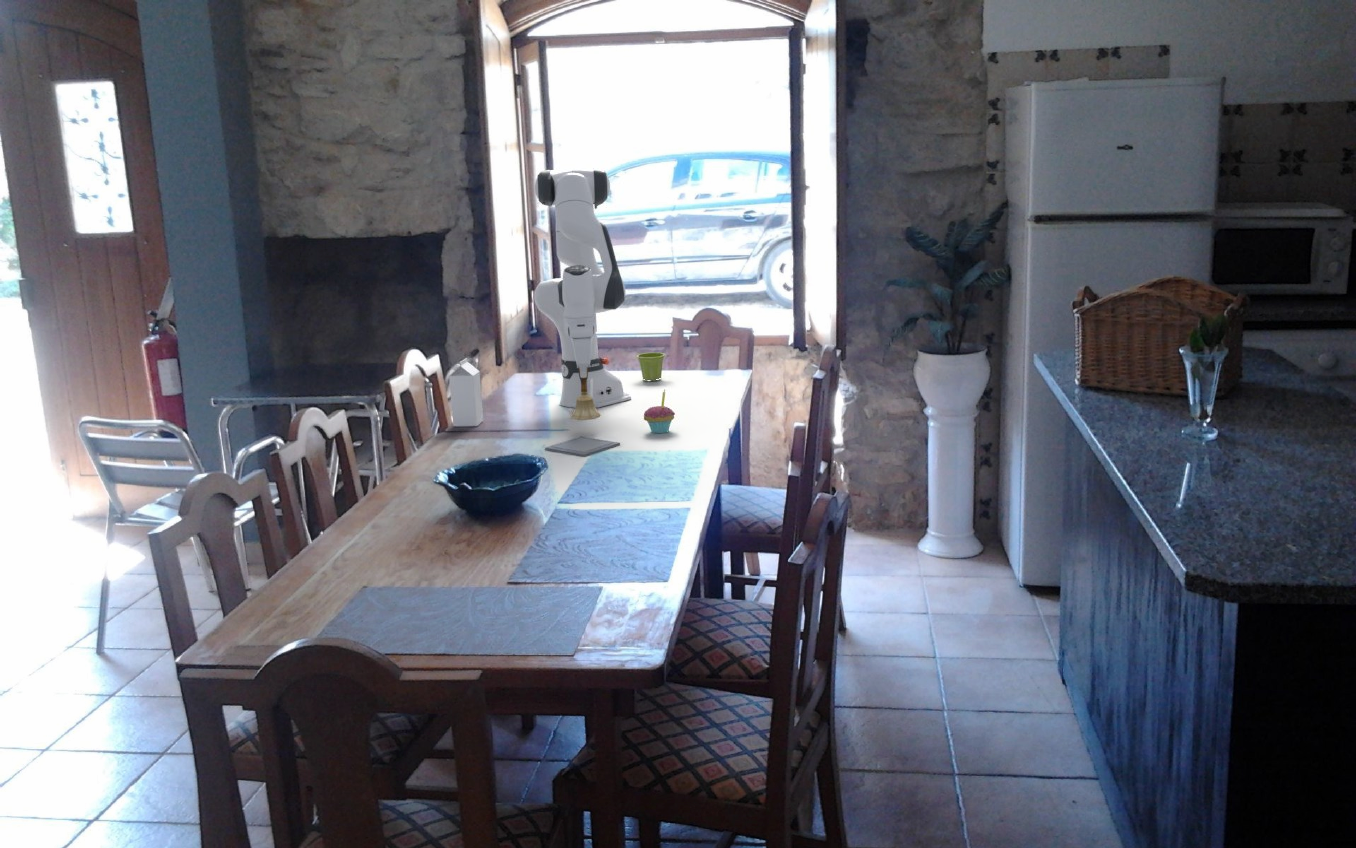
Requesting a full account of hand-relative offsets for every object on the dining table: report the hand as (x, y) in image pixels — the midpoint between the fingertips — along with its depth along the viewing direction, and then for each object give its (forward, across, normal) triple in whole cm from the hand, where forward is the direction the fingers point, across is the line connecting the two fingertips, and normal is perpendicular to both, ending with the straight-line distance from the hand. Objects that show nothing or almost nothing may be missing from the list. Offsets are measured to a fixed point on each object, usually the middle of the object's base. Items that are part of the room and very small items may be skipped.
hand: (583, 375), depth 321 cm
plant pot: (+18, -70, +25) cm, 76 cm away
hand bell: (+12, 0, 0) cm, 12 cm away
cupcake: (+16, +6, +20) cm, 26 cm away
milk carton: (+17, -19, -34) cm, 42 cm away
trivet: (+15, +18, -2) cm, 24 cm away
